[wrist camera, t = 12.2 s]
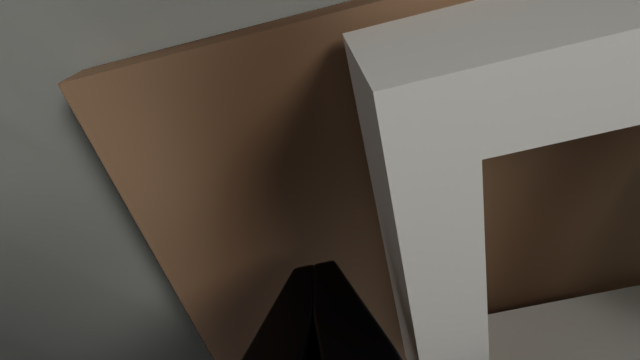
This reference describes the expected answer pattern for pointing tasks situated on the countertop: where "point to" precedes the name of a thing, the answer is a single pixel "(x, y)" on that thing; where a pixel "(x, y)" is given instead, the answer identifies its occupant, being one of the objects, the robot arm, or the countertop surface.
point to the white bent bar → (482, 143)
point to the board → (326, 178)
